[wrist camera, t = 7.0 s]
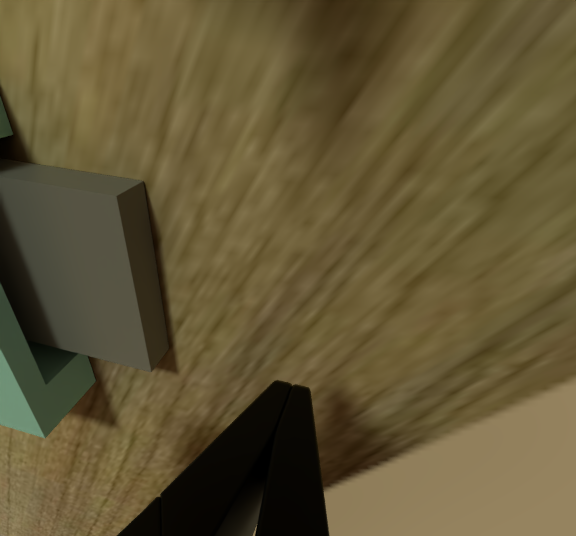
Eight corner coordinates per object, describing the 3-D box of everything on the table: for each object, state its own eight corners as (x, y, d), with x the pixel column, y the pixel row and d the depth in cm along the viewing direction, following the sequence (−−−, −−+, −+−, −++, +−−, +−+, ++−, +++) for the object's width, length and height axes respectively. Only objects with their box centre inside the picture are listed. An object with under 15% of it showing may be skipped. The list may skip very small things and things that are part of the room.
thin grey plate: (143, 181, 13) (116, 196, 12) (169, 348, 17) (151, 372, 16) (-104, 142, 15) (-149, 151, 14) (-25, 300, 19) (-55, 319, 18)
